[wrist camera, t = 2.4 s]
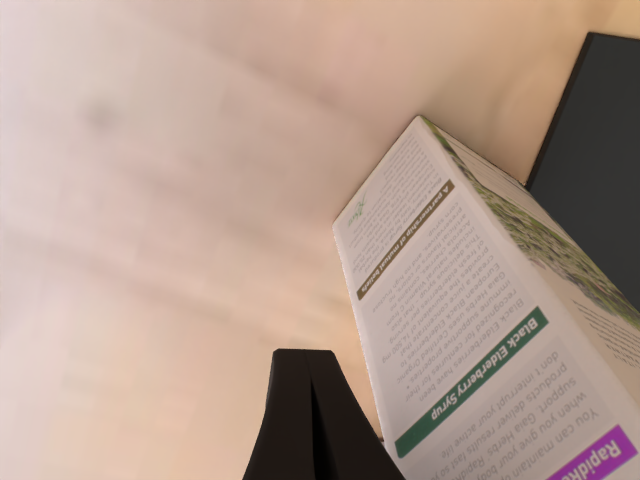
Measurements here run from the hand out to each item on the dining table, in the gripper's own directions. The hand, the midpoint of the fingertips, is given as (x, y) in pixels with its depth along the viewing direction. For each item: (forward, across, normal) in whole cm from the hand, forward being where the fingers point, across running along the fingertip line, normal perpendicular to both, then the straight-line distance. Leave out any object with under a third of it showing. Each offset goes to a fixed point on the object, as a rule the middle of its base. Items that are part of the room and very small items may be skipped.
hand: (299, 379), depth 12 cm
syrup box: (+10, -6, 0) cm, 11 cm away
